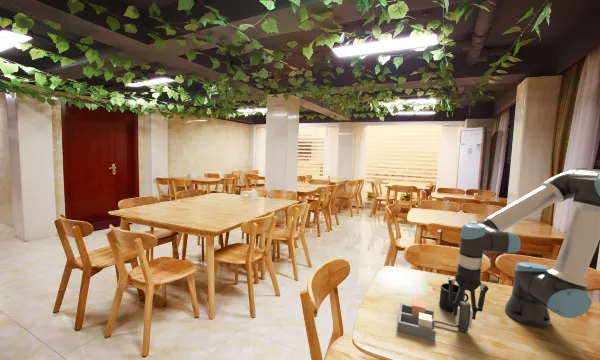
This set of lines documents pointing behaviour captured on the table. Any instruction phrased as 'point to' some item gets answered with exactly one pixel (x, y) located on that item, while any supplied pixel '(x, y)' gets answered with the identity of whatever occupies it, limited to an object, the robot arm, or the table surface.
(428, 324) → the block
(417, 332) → the lane shelf
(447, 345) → the table surface
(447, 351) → the table surface
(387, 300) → the table surface
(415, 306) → the block
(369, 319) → the table surface
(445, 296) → the mug
